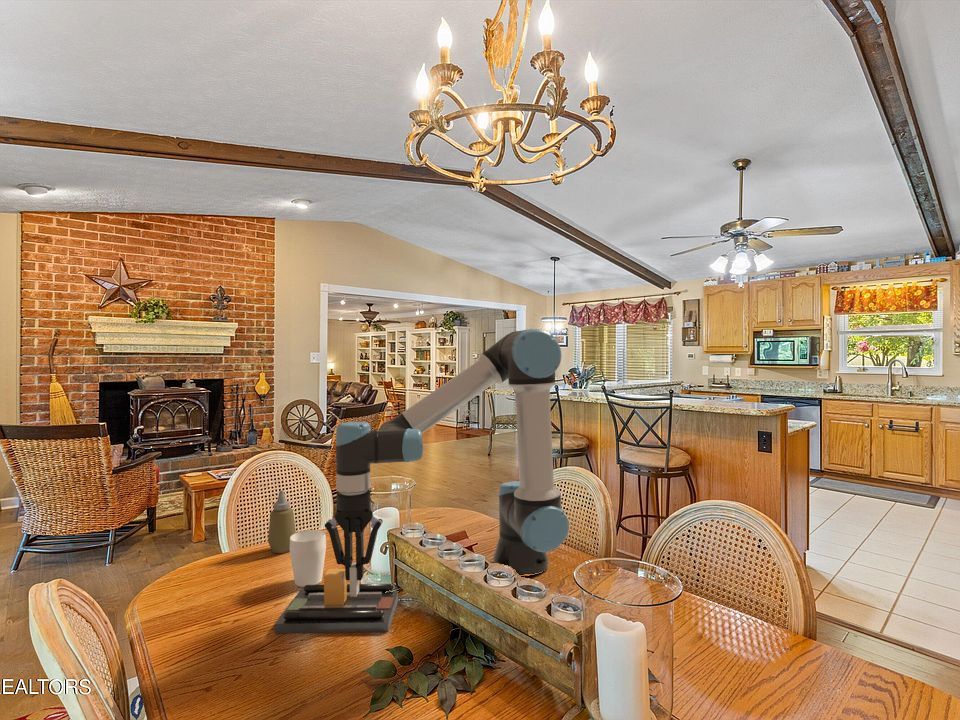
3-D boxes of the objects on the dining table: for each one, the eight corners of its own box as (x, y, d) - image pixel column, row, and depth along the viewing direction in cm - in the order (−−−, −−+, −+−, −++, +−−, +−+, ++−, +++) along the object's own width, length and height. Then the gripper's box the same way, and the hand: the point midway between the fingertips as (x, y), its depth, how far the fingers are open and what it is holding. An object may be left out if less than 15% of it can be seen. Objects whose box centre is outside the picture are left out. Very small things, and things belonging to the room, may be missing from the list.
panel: (399, 595, 121) (399, 580, 121) (388, 631, 105) (388, 614, 105) (301, 596, 121) (301, 581, 121) (275, 633, 105) (274, 616, 105)
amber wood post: (346, 598, 115) (346, 568, 115) (342, 607, 111) (341, 576, 111) (329, 598, 115) (329, 568, 115) (324, 607, 111) (323, 576, 111)
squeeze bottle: (302, 548, 151) (301, 489, 151) (279, 557, 144) (278, 496, 144) (285, 543, 156) (284, 486, 155) (262, 552, 149) (261, 492, 148)
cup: (332, 574, 133) (331, 529, 133) (318, 590, 124) (317, 542, 124) (300, 573, 134) (299, 529, 134) (283, 589, 125) (282, 541, 125)
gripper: (385, 485, 117) (386, 585, 117) (329, 486, 116) (330, 586, 117) (379, 495, 109) (380, 601, 109) (319, 495, 109) (320, 602, 109)
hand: (354, 593), depth 113 cm, fingers closed
